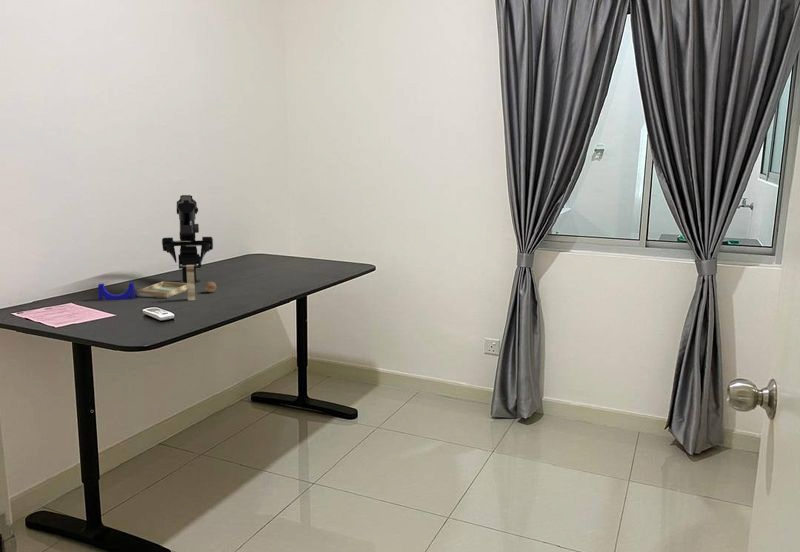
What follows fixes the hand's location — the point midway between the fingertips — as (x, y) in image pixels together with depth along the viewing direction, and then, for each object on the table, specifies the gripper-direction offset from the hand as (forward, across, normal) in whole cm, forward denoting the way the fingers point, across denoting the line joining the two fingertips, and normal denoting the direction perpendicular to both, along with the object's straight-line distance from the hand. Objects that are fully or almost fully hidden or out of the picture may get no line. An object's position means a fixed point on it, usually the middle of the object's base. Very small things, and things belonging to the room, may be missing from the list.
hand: (188, 261), depth 247 cm
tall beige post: (+15, +1, +3) cm, 15 cm away
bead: (+8, +8, +11) cm, 15 cm away
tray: (+5, -10, +14) cm, 18 cm away
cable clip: (+10, -26, +9) cm, 29 cm away
